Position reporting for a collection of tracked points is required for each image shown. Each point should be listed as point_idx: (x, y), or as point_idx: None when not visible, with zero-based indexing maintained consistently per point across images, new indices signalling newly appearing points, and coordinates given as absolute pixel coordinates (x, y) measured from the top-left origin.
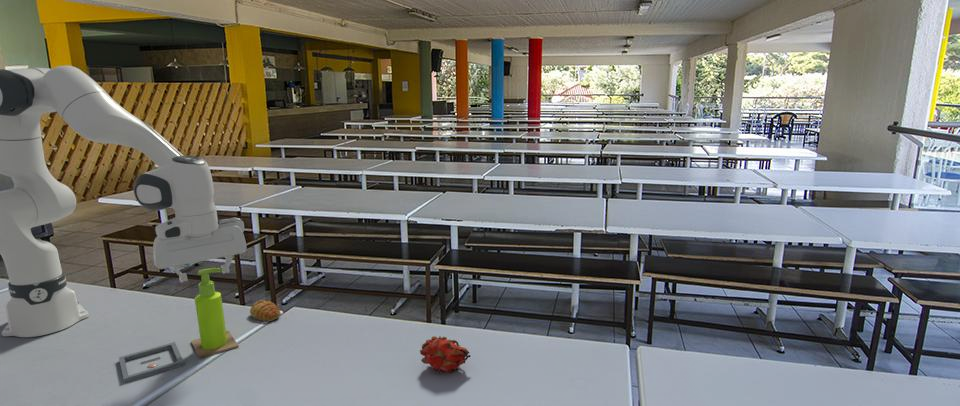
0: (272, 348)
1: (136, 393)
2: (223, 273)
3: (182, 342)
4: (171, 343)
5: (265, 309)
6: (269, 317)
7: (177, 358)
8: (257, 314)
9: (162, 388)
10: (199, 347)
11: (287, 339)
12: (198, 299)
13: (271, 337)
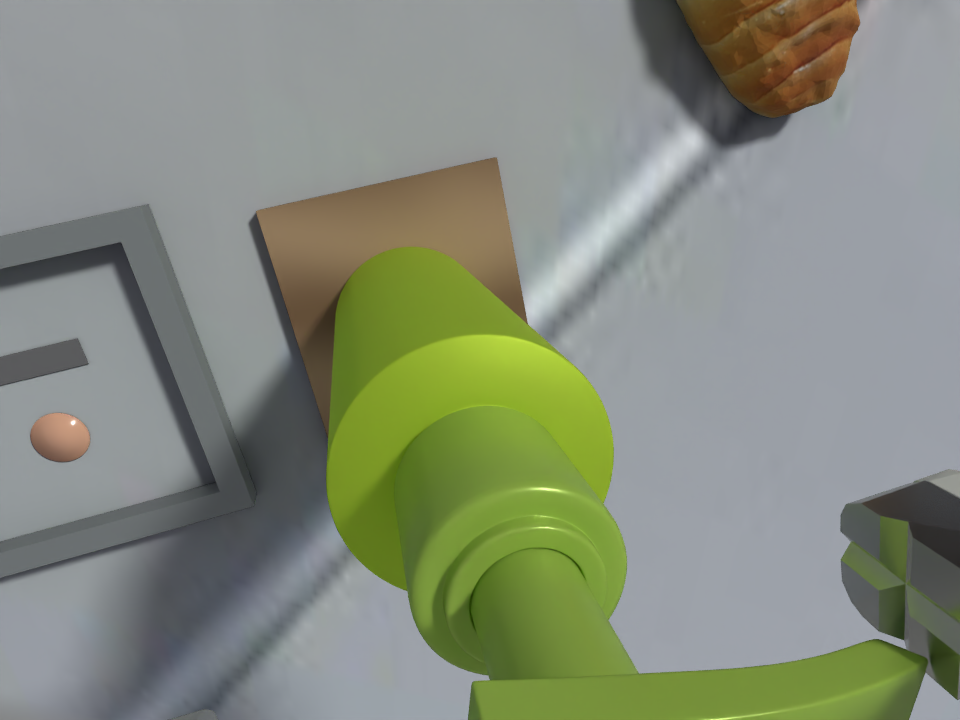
0: (688, 473)
1: (62, 687)
2: (849, 581)
3: (191, 172)
4: (119, 221)
5: (785, 25)
6: (766, 107)
7: (210, 461)
8: (712, 28)
9: (186, 677)
10: (323, 336)
11: (771, 405)
12: (377, 556)
13: (708, 348)
